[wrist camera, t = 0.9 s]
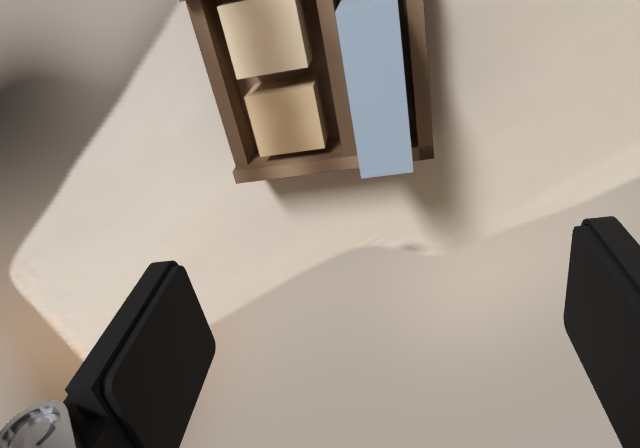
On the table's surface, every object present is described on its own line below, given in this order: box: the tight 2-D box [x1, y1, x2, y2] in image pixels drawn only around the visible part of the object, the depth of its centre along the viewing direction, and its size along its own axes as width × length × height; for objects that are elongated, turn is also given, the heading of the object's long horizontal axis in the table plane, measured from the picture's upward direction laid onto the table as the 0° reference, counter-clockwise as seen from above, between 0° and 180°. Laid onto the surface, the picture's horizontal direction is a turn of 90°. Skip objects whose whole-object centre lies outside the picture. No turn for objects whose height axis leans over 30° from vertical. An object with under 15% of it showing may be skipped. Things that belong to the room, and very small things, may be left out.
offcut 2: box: [244, 73, 329, 157], centre depth 35 cm, size 5×5×4 cm
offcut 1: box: [217, 0, 315, 79], centre depth 32 cm, size 5×5×4 cm
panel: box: [335, 0, 414, 179], centre depth 29 cm, size 3×9×11 cm, turn 11°
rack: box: [179, 0, 434, 184], centre depth 33 cm, size 15×14×5 cm
